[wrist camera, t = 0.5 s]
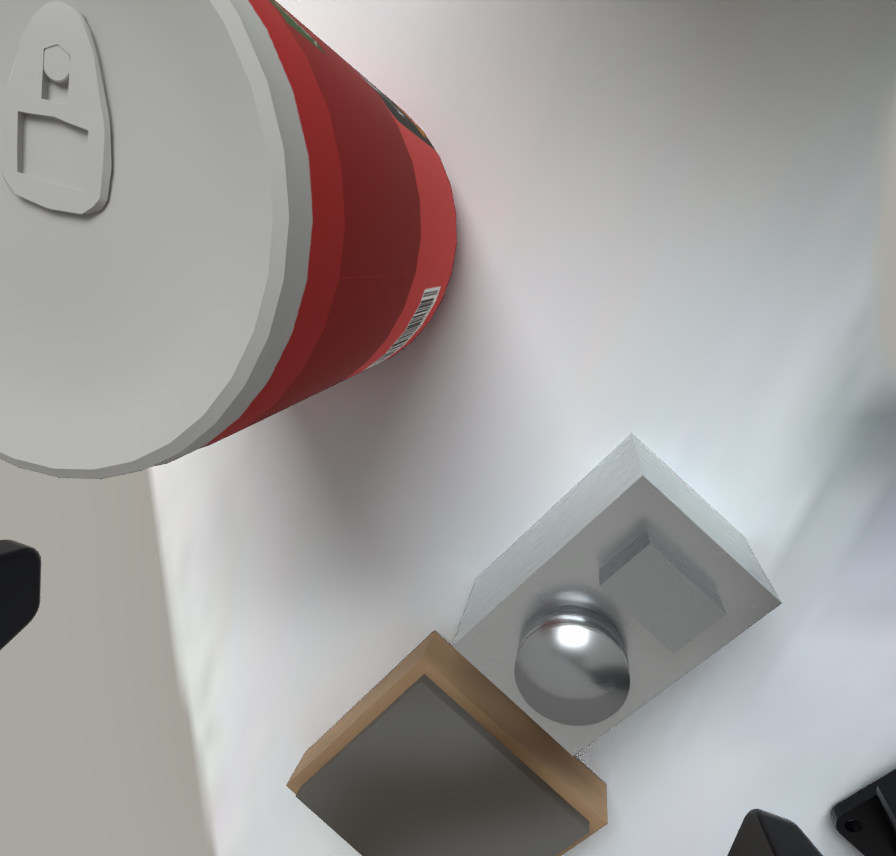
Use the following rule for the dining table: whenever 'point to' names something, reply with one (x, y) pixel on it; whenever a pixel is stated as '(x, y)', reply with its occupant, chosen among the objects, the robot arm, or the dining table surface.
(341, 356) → the canned food
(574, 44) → the dining table surface
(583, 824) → the stand
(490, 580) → the housing
